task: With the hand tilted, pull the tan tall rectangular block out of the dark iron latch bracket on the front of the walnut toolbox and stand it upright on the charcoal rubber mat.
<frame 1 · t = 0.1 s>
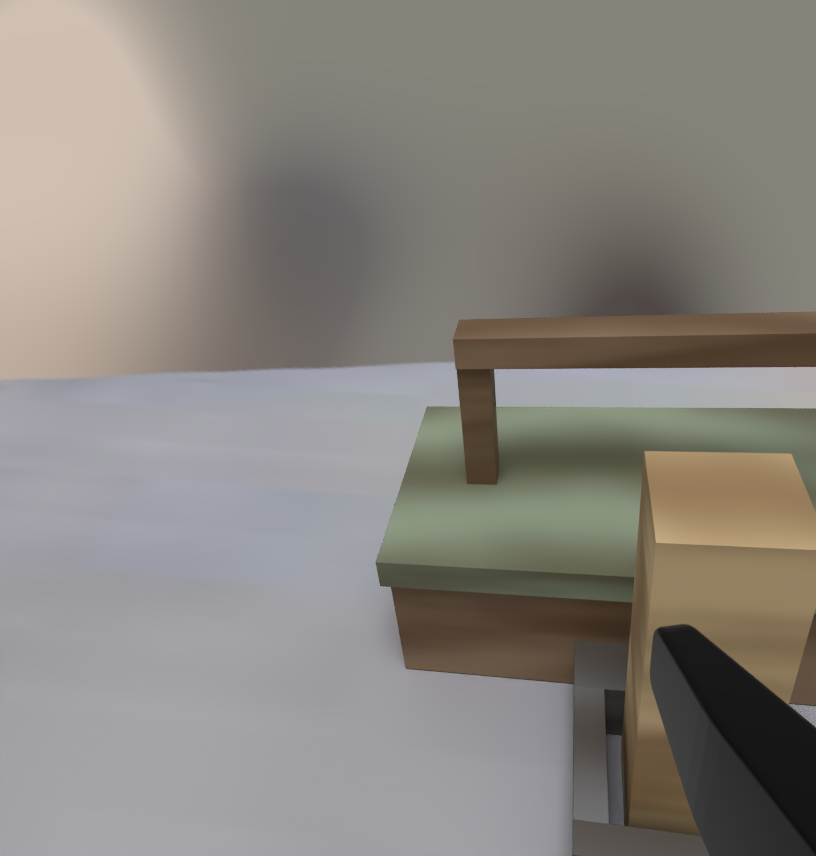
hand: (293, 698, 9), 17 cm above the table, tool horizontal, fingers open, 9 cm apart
tan tall rectangular block: (677, 805, 23), resting in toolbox
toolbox: (652, 593, 31), on the table
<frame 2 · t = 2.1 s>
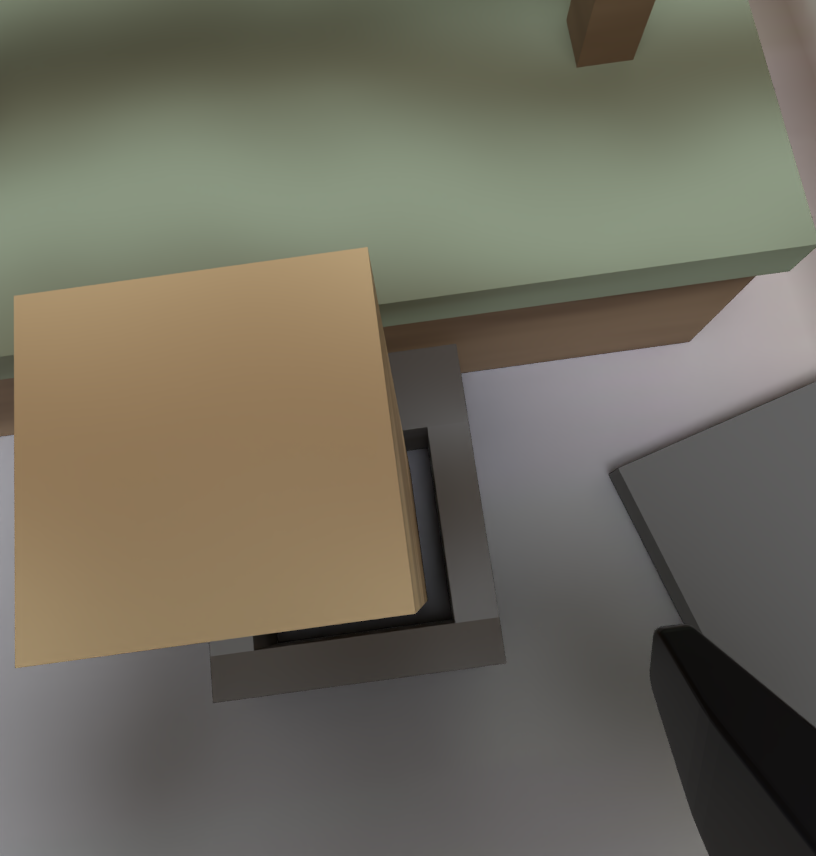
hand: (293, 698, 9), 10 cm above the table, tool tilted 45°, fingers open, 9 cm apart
tan tall rectangular block: (356, 544, 19), resting in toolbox
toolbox: (319, 230, 21), on the table
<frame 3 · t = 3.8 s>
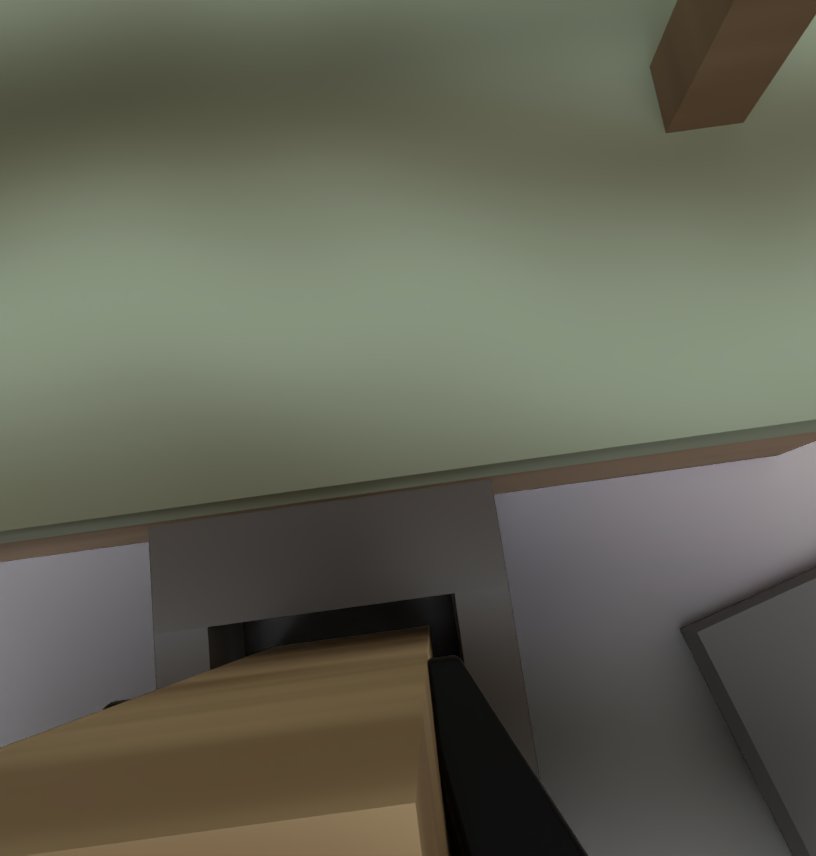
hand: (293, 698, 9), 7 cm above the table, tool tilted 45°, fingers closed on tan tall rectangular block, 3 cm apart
tan tall rectangular block: (360, 718, 15), resting in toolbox, touching gripper
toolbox: (313, 309, 17), on the table
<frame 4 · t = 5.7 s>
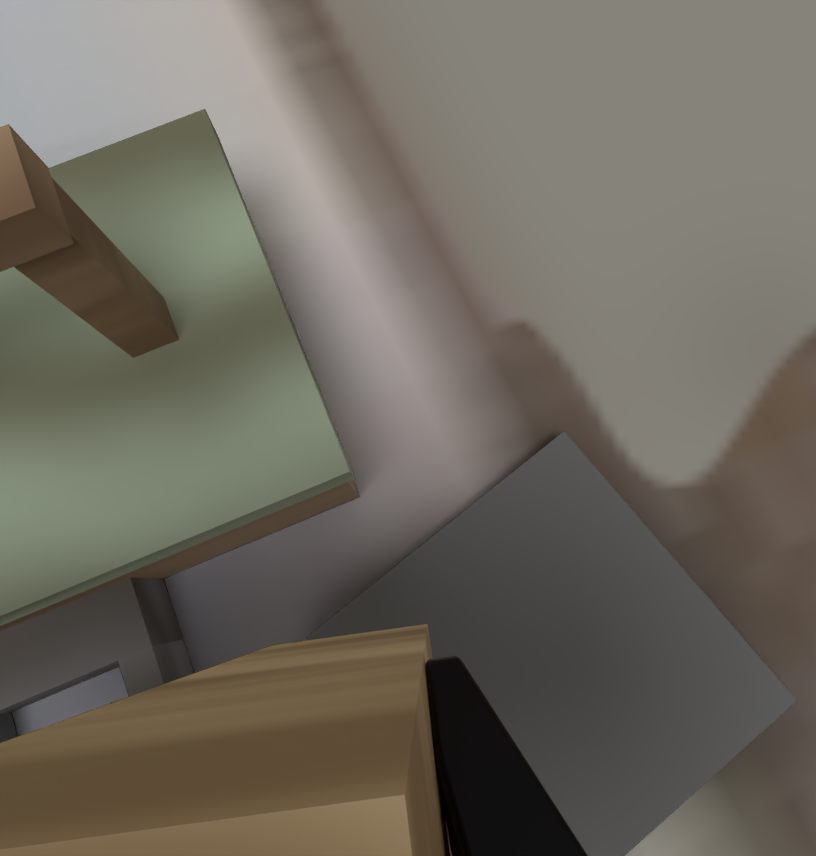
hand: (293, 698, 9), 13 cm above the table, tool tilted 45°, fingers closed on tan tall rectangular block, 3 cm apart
rubber mat: (541, 664, 21), on the table
tan tall rectangular block: (359, 717, 15), point 7 cm above the table, touching gripper
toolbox: (21, 474, 23), on the table
when the fingers open (9 cm above the table, at t = 7.8 s): tan tall rectangular block drops 1 cm, resting on rubber mat.
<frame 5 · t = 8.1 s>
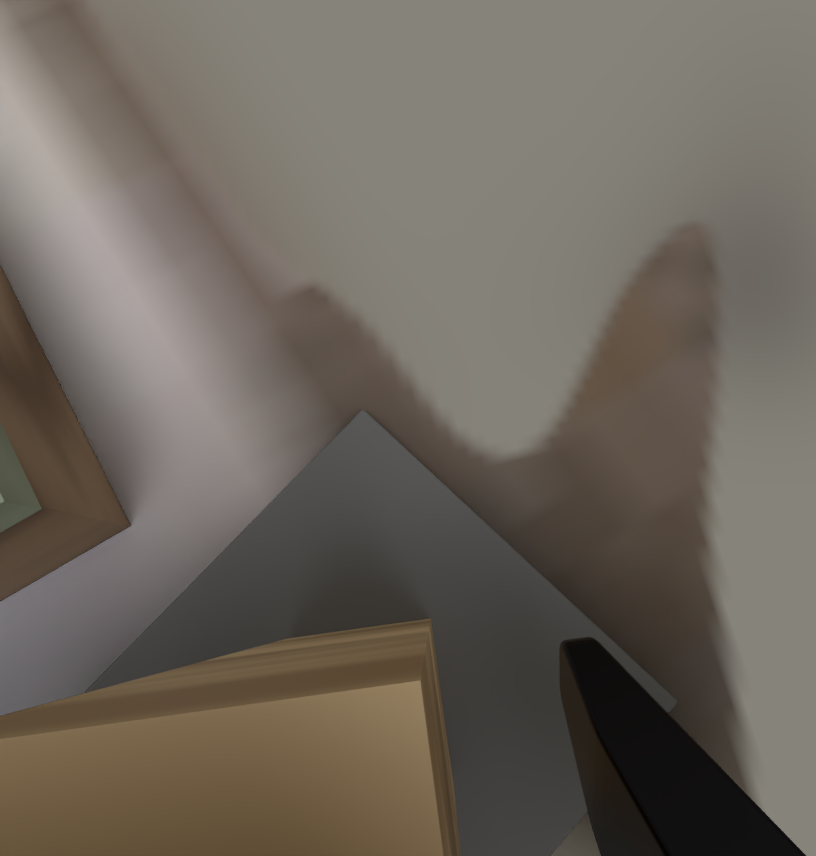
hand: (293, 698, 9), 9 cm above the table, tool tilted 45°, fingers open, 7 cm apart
rubber mat: (370, 701, 17), on the table
tan tall rectangular block: (367, 705, 16), point 1 cm above the table, touching rubber mat
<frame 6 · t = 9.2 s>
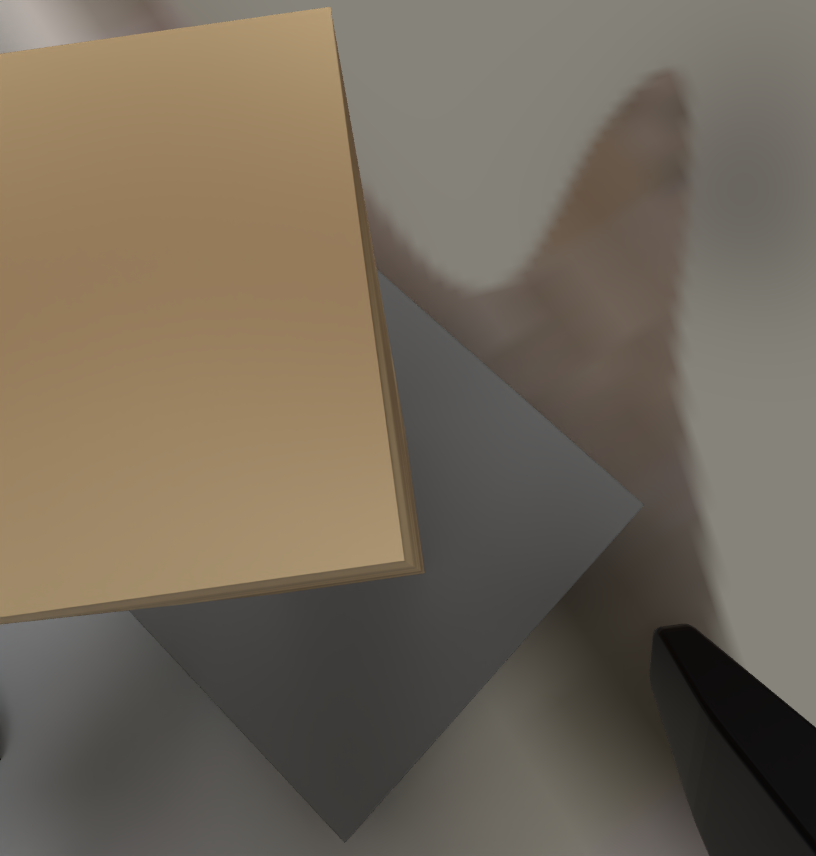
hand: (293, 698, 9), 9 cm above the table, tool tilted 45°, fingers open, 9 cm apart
rubber mat: (347, 517, 18), on the table
tan tall rectangular block: (343, 510, 17), point 1 cm above the table, touching rubber mat
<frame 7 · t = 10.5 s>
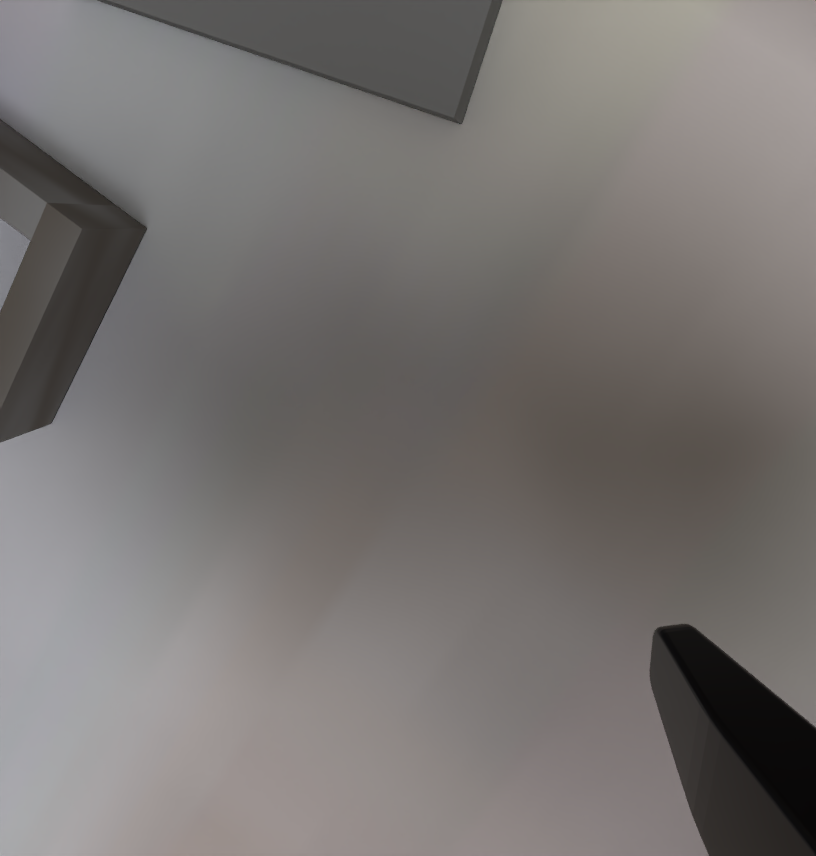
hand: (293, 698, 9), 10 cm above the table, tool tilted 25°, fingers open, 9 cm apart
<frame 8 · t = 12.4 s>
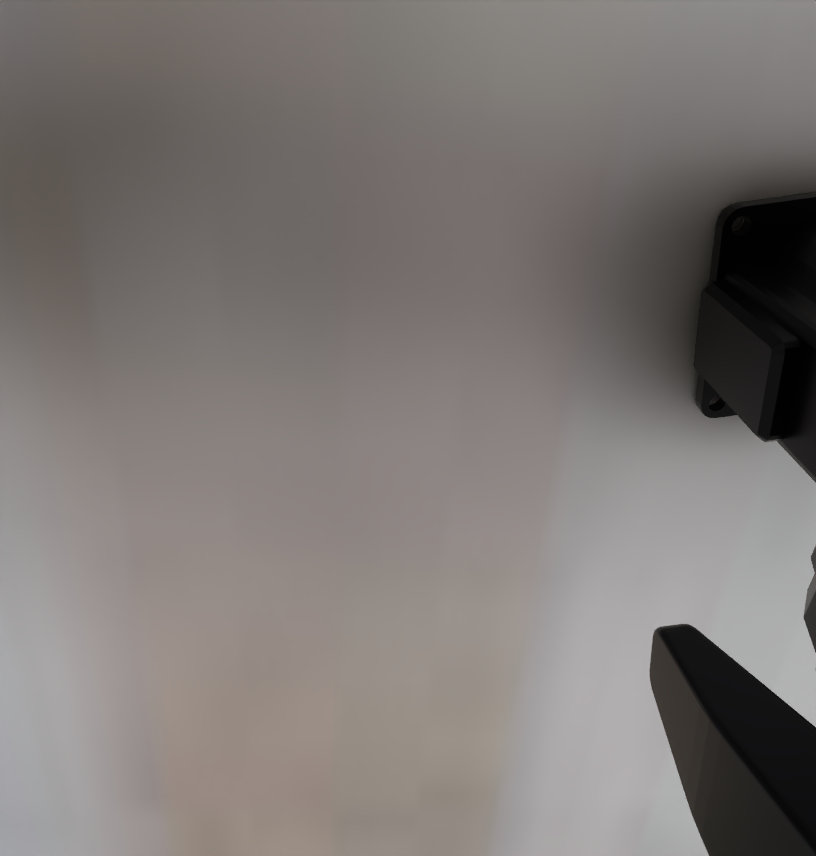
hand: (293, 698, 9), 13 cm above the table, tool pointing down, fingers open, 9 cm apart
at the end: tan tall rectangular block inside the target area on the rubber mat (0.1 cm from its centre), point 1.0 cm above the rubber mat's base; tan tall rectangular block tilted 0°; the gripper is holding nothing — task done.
